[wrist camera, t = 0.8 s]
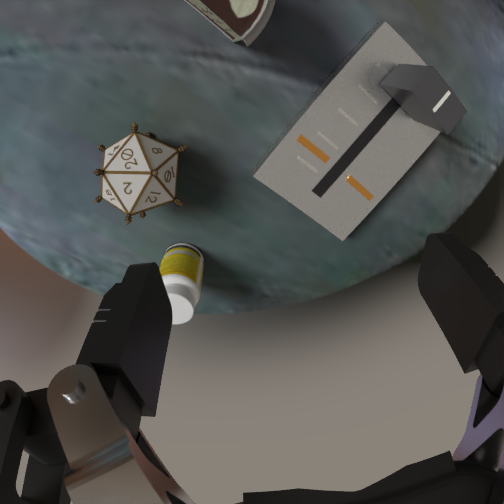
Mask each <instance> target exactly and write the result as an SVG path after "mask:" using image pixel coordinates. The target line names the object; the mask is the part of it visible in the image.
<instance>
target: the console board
mask: <svg viewBox="0 0 504 504" xmlns="http://www.w3.org/2000/svg"><path fill="white" fill-rule="evenodd" d="M398 64H412V65H424V66H427V65H426V64H425V63H424V62H423V60H422V59H421V58H420V57H419V56H418V55H417V54H416V52H415V51H414V50H413V49H412V48H411V47H410V46H409V45H408V44H407V43H406V42H405V41H404V40H403V39H402V38H401V36H400V35H399V34H398V33H397V32H396V31H395V30H394V29H393V28H392V27H391V26H390V25H389V24H388V23H386V22H381V23H377V24H376V25H375V26H374V27H373V28H372V29H371V30H370V31H369V32H368V33H367V35H366V36H365V37H364V38H363V39H362V40H361V41H360V42H359V43H358V44H357V46H356V47H355V48H354V49H353V50H352V51H351V52H350V53H349V54H348V56H347V57H346V58H345V59H344V60H343V61H342V62H341V63H340V65H339V66H338V67H337V68H336V69H335V70H334V71H333V73H332V74H331V75H330V76H329V77H328V78H327V80H326V81H325V82H324V83H323V84H322V85H321V86H320V88H319V89H318V90H317V91H316V92H315V93H314V95H313V96H312V97H311V98H310V99H309V101H308V102H307V103H306V104H305V105H304V106H303V108H302V109H301V110H300V111H299V112H298V114H297V115H296V116H295V117H294V118H293V120H292V121H291V122H290V123H289V125H288V126H287V127H286V128H285V129H284V131H283V132H282V133H281V134H280V136H279V137H278V138H277V139H276V140H275V142H274V143H273V144H272V145H271V147H270V148H269V149H268V150H267V152H266V153H265V154H264V155H263V157H262V158H261V159H260V160H259V162H258V163H257V164H256V165H255V167H254V168H253V169H252V173H253V177H255V178H256V179H257V180H259V181H260V182H262V183H263V184H265V185H266V186H268V187H269V188H270V189H272V190H273V191H275V192H276V193H278V194H279V195H280V196H282V197H283V198H285V199H286V200H287V201H289V202H290V203H292V204H293V205H294V206H296V207H297V208H299V209H300V210H301V211H303V212H304V213H306V214H307V215H308V216H310V217H311V218H312V219H314V220H315V221H316V222H318V223H319V224H321V225H322V226H323V227H325V228H326V229H327V230H329V231H330V232H331V233H333V234H334V235H335V236H337V237H338V238H339V239H341V240H342V241H343V240H344V239H345V238H346V237H347V236H348V235H349V234H350V233H351V232H352V231H353V230H354V229H355V228H356V227H357V226H358V224H359V223H360V222H361V221H362V220H363V219H364V218H365V217H366V216H367V215H368V214H369V213H370V212H371V210H372V209H373V208H374V207H375V206H376V205H377V204H378V203H379V202H380V201H381V200H382V198H383V197H384V196H385V195H386V194H387V193H388V192H389V191H390V190H391V188H392V187H393V186H394V185H395V184H396V183H397V182H398V181H399V180H400V178H401V177H402V176H403V175H404V174H405V173H406V172H407V170H408V169H409V168H410V167H411V166H412V165H413V164H414V162H415V161H416V160H417V159H418V158H419V157H420V155H421V154H422V153H423V152H424V151H425V150H426V148H427V147H428V146H429V145H430V144H431V143H432V141H433V140H434V139H435V138H436V137H437V135H438V134H439V133H440V131H438V130H436V129H433V128H431V127H429V126H426V125H424V124H421V123H419V122H417V121H414V120H413V119H412V118H411V117H410V116H409V114H408V113H407V112H406V111H405V110H404V109H403V108H402V107H401V106H400V105H399V103H398V102H397V101H396V100H395V99H394V98H393V97H392V96H391V95H390V94H389V93H388V92H387V91H386V90H385V89H384V88H383V87H382V86H381V85H380V84H381V83H382V82H383V81H384V80H385V79H386V77H387V76H388V75H389V74H390V73H391V72H392V71H393V69H394V68H395V67H396V66H397V65H398Z"/></svg>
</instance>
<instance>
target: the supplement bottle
mask: <svg viewBox="0 0 504 504" xmlns="http://www.w3.org/2000/svg"><path fill="white" fill-rule="evenodd" d="M203 268H204V259H203V256H202V254H201V253H200V251H199V250H198V249H197V248H196V247H194V246H192V245H190V244H186V243H178V244H175V245H172V246H171V247H169V248H168V249H167V250H166V252H165V254H164V256H163V259H162V262H161V265H160V268H159V270H160V273H161V276H162V279H163V282H164V285H165V288H166V291H167V294H168V297H169V299H170V302H171V306H172V316H173V318H172V324H182V323H185V322H187V321H188V320H190V319H191V317H192V316H193V313H194V308H195V305H196V304H197V303H198V301H199V297H200V291H201V283H202V275H203Z"/></svg>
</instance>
